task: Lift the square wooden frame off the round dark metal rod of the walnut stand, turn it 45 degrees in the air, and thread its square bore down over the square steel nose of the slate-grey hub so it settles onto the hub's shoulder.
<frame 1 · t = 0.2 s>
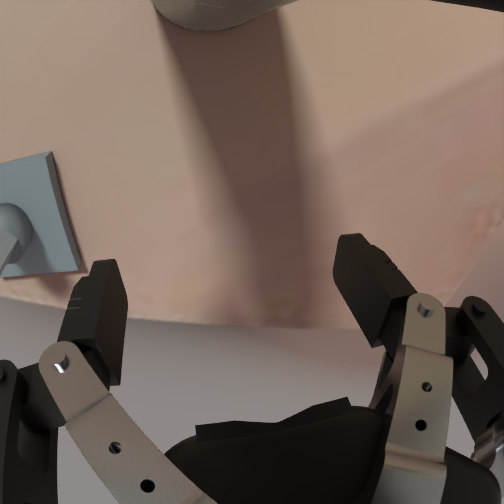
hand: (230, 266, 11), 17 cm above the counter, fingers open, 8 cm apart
hub: (16, 218, 25), on the counter
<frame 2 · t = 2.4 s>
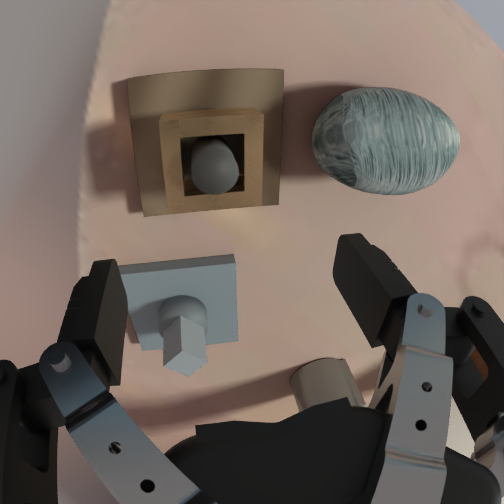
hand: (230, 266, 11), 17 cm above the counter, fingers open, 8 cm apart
stand: (207, 139, 25), on the counter
square wooden frame: (210, 152, 22), point 4 cm above the counter, touching stand
hub: (182, 303, 35), on the counter
teal-grey streaked oval part: (366, 127, 27), on the counter
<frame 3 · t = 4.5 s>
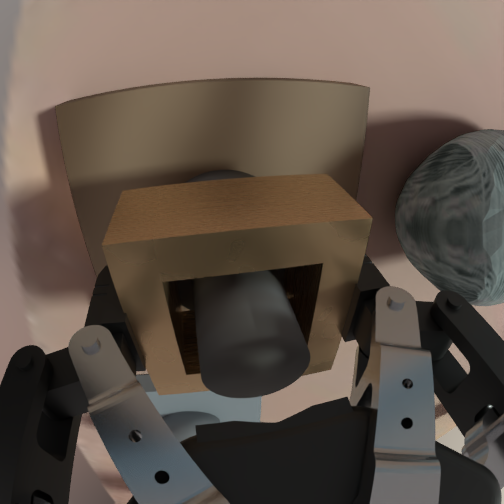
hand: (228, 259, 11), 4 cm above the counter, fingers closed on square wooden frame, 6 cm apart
stand: (218, 212, 14), on the counter
square wooden frame: (230, 264, 11), point 4 cm above the counter, touching gripper, stand
hub: (187, 409, 24), on the counter
teal-grey streaked oval part: (459, 182, 16), on the counter
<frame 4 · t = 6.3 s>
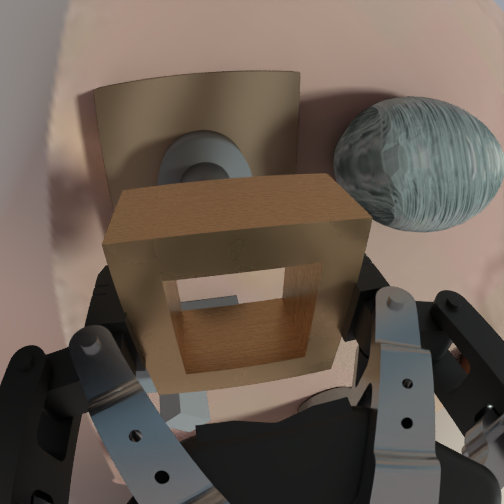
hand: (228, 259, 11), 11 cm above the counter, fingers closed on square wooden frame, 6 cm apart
stand: (201, 163, 20), on the counter
square wooden frame: (230, 264, 11), point 11 cm above the counter, touching gripper
hub: (179, 346, 30), on the counter
teal-grey streaked oval part: (395, 143, 22), on the counter
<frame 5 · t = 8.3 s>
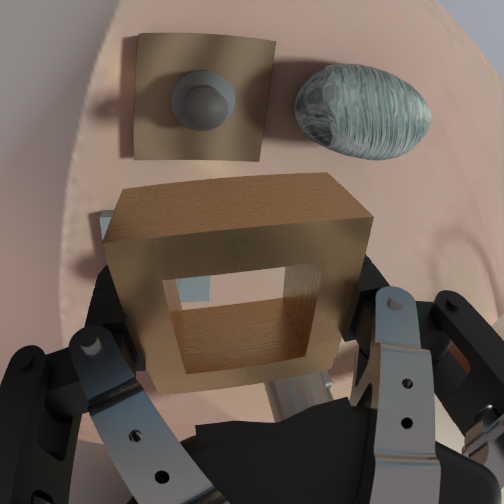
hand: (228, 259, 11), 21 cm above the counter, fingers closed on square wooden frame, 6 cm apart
stand: (200, 95, 26), on the counter
square wooden frame: (231, 263, 11), point 21 cm above the counter, touching gripper
hub: (158, 255, 35), on the counter
teal-grey streaked oval part: (345, 103, 30), on the counter
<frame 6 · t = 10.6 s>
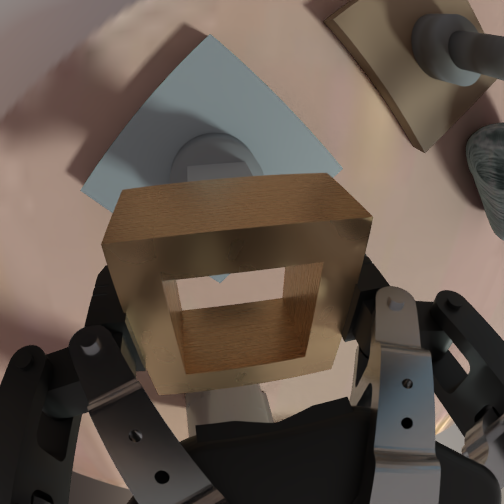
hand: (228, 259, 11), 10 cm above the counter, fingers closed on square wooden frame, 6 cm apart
stand: (425, 45, 17), on the counter
square wooden frame: (230, 263, 11), point 11 cm above the counter, touching gripper
hub: (211, 166, 20), on the counter
teal-grey streaked oval part: (486, 168, 24), on the counter
when the fingers open (5 cm above the counter, at t = 12.5 s): square wooden frame stays where it is, resting on hub.
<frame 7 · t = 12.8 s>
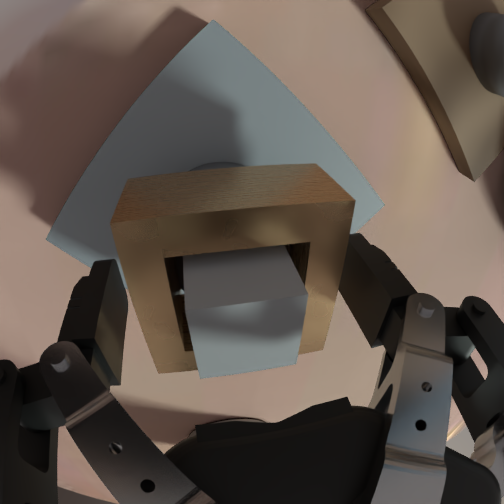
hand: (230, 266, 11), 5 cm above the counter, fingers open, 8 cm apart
stand: (477, 49, 12), on the counter
square wooden frame: (227, 248, 12), point 4 cm above the counter, touching hub
hub: (216, 202, 15), on the counter
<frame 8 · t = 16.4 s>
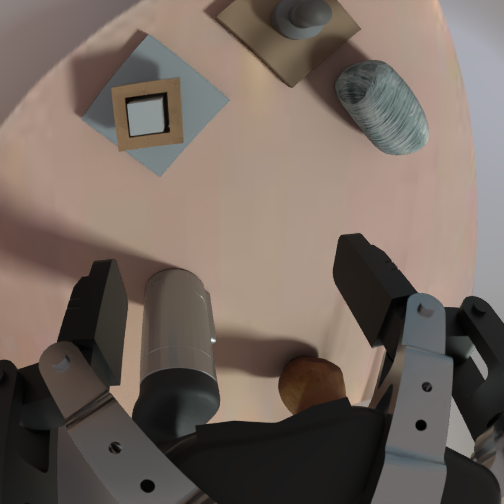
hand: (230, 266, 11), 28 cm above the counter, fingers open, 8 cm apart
butternut squash: (302, 361, 65), on the counter
stand: (289, 20, 28), on the counter
square wooden frame: (150, 110, 28), point 4 cm above the counter, touching hub
hub: (154, 105, 32), on the counter
teal-grey streaked oval part: (368, 102, 36), on the counter
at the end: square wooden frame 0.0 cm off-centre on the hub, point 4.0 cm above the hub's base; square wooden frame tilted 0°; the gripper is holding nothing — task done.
